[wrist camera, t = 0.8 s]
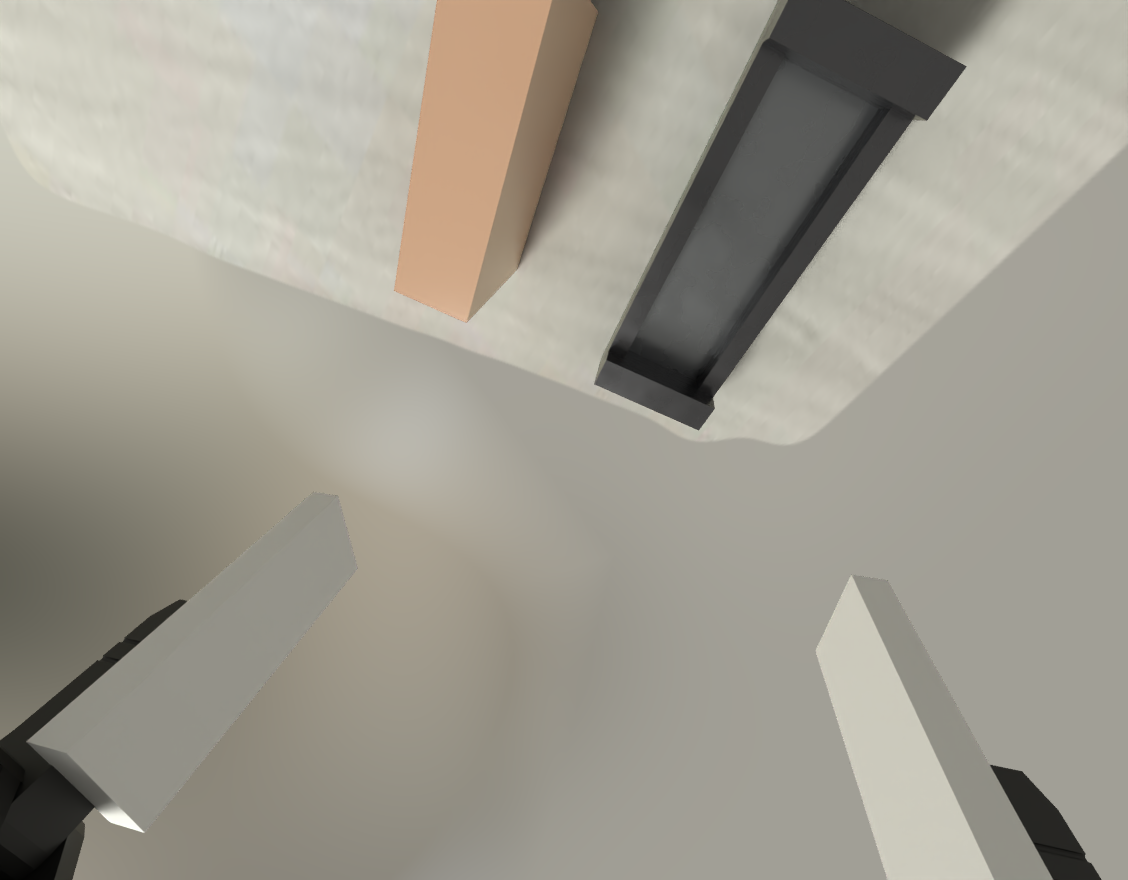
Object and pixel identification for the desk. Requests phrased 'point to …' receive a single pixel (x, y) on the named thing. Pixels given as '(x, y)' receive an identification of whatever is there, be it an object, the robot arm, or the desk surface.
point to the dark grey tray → (768, 196)
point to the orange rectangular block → (486, 143)
